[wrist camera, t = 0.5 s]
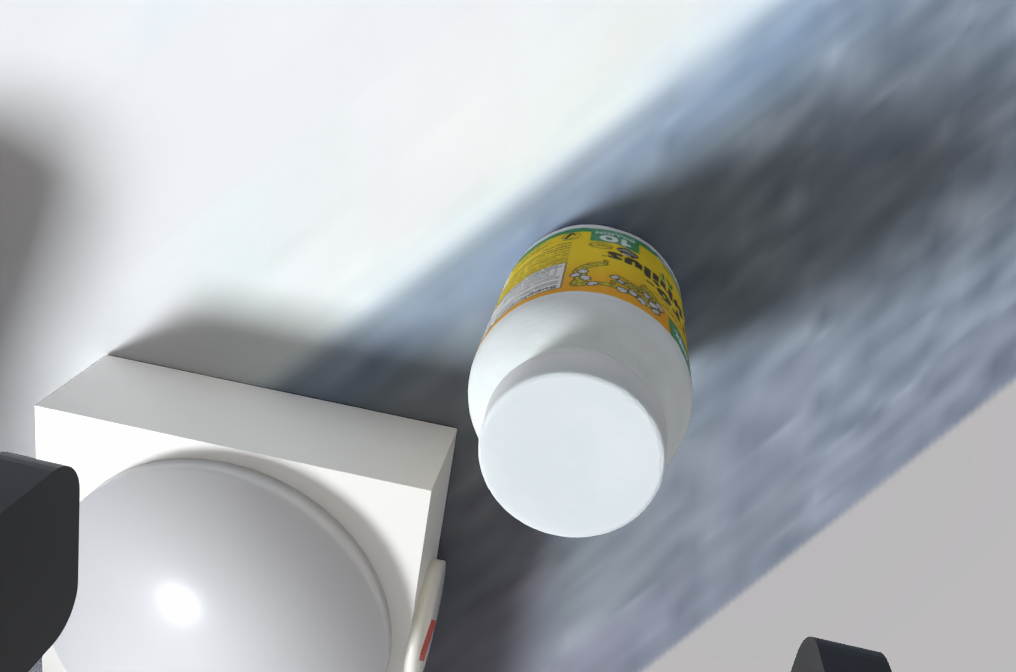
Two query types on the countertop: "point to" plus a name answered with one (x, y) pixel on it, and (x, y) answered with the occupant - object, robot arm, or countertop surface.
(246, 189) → the countertop surface
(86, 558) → the kitchen scale
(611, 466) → the supplement bottle
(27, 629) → the robot arm
